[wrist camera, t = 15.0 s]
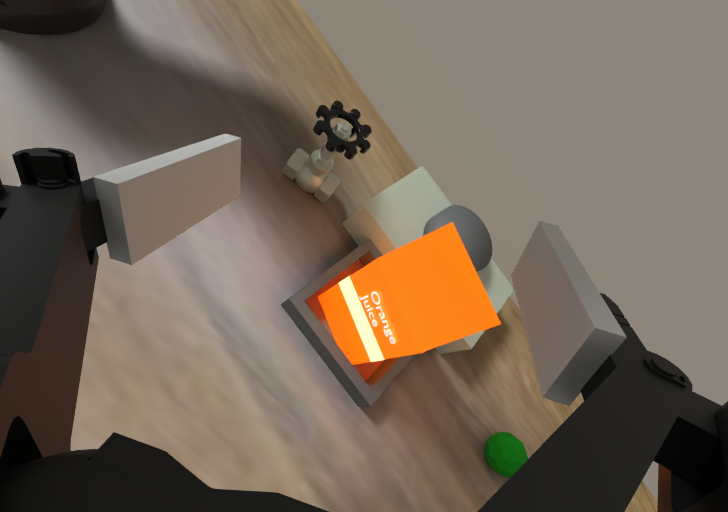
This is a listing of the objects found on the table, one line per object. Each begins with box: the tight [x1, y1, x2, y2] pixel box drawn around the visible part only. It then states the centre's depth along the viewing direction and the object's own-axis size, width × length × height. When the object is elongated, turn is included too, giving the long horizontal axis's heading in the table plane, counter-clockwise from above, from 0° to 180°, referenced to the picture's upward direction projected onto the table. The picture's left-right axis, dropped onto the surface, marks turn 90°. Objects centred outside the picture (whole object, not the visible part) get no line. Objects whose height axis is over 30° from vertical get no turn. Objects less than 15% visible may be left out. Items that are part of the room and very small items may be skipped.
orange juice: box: [318, 222, 501, 365], centre depth 35 cm, size 8×9×20 cm
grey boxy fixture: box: [281, 166, 514, 407], centre depth 43 cm, size 22×26×9 cm
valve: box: [283, 101, 371, 203], centre depth 41 cm, size 7×7×12 cm
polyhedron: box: [485, 432, 528, 478], centre depth 44 cm, size 5×5×5 cm
